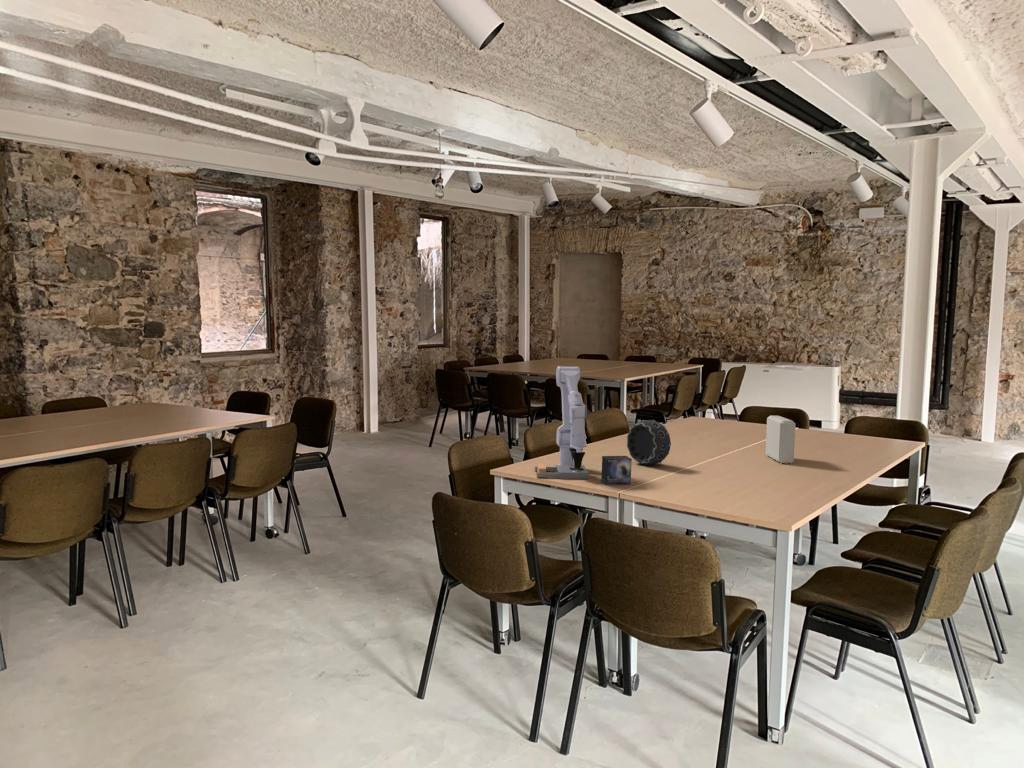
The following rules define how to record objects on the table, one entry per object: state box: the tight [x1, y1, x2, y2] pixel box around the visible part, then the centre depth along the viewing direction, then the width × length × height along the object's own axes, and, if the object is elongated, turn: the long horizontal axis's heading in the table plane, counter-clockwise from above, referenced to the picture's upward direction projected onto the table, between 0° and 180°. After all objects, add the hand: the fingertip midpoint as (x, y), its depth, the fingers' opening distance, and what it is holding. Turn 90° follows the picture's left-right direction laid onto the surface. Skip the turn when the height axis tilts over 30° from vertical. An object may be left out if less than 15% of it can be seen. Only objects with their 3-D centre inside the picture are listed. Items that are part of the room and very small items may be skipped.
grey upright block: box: [765, 415, 796, 464], centre depth 354 cm, size 21×8×20 cm, turn 179°
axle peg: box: [573, 458, 583, 470], centre depth 312 cm, size 4×4×7 cm
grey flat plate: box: [534, 464, 590, 480], centre depth 312 cm, size 16×21×2 cm
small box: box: [600, 455, 633, 485], centre depth 297 cm, size 11×6×10 cm, turn 101°
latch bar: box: [536, 463, 547, 473], centre depth 311 cm, size 10×3×4 cm, turn 1°
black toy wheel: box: [626, 419, 672, 466], centre depth 337 cm, size 11×20×20 cm, turn 35°
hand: (576, 466), depth 312 cm, fingers open, 6 cm apart
